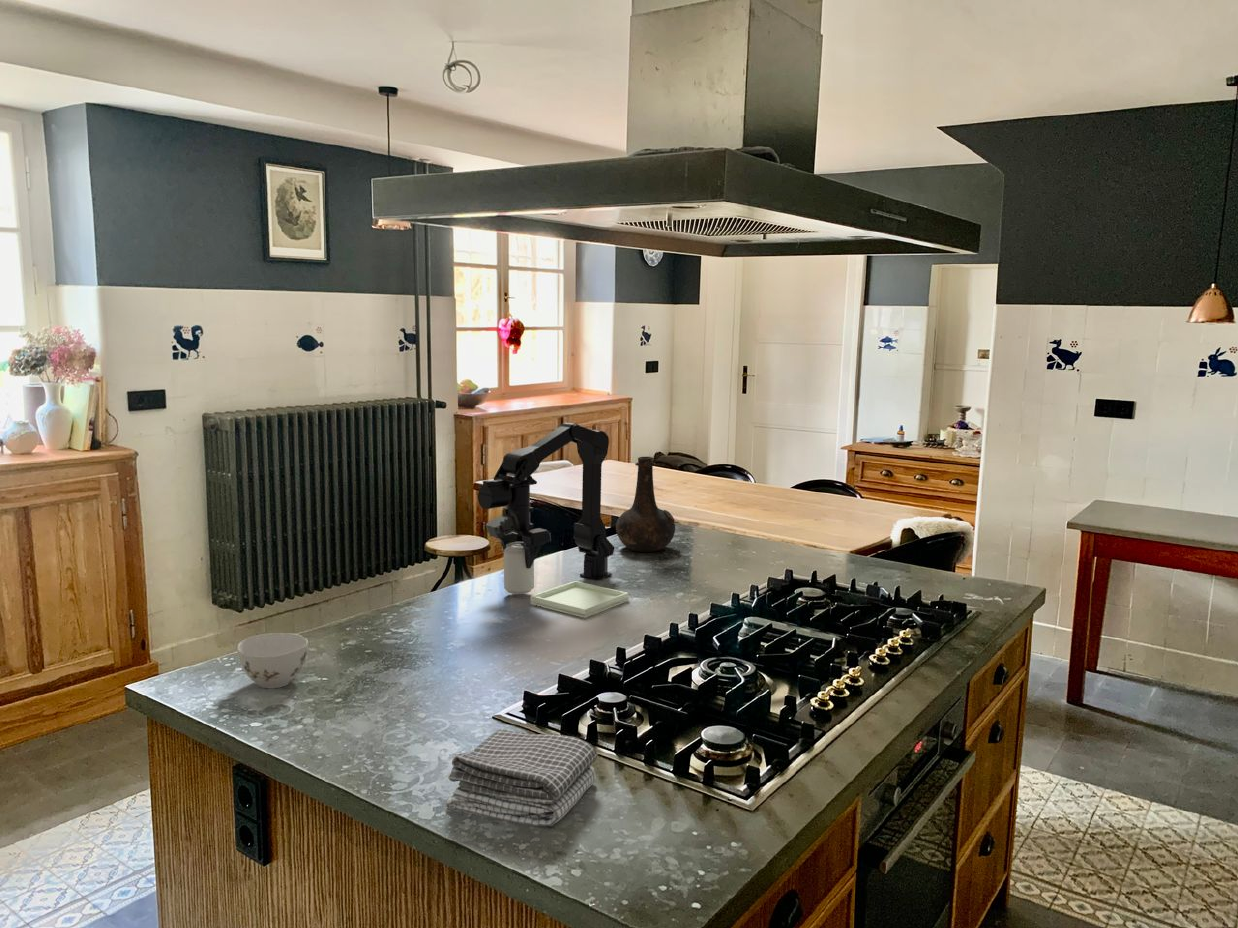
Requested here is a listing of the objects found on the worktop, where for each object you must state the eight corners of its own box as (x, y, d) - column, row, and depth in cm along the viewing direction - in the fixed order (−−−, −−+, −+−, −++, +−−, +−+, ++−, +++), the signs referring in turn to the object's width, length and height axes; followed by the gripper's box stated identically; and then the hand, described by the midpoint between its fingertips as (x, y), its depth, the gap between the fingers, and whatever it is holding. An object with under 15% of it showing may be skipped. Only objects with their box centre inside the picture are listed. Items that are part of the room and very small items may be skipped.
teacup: (278, 700, 168) (276, 658, 167) (223, 690, 173) (221, 649, 171) (331, 671, 182) (329, 632, 181) (279, 662, 187) (277, 624, 185)
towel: (559, 835, 126) (559, 780, 125) (440, 810, 132) (439, 758, 131) (599, 783, 140) (599, 734, 139) (490, 762, 146) (489, 715, 145)
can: (536, 586, 236) (536, 540, 235) (531, 595, 229) (530, 548, 227) (507, 585, 237) (507, 539, 235) (501, 594, 230) (500, 547, 228)
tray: (575, 588, 240) (575, 580, 240) (628, 600, 230) (628, 592, 230) (530, 603, 226) (530, 595, 226) (585, 617, 216) (585, 609, 216)
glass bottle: (669, 558, 271) (670, 463, 267) (609, 553, 275) (610, 460, 271) (679, 543, 288) (681, 454, 284) (623, 540, 292) (624, 451, 288)
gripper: (469, 502, 231) (470, 563, 233) (514, 514, 217) (515, 579, 220) (505, 496, 238) (506, 555, 241) (552, 507, 225) (552, 570, 227)
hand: (518, 565), depth 232 cm, fingers closed on can, 7 cm apart
